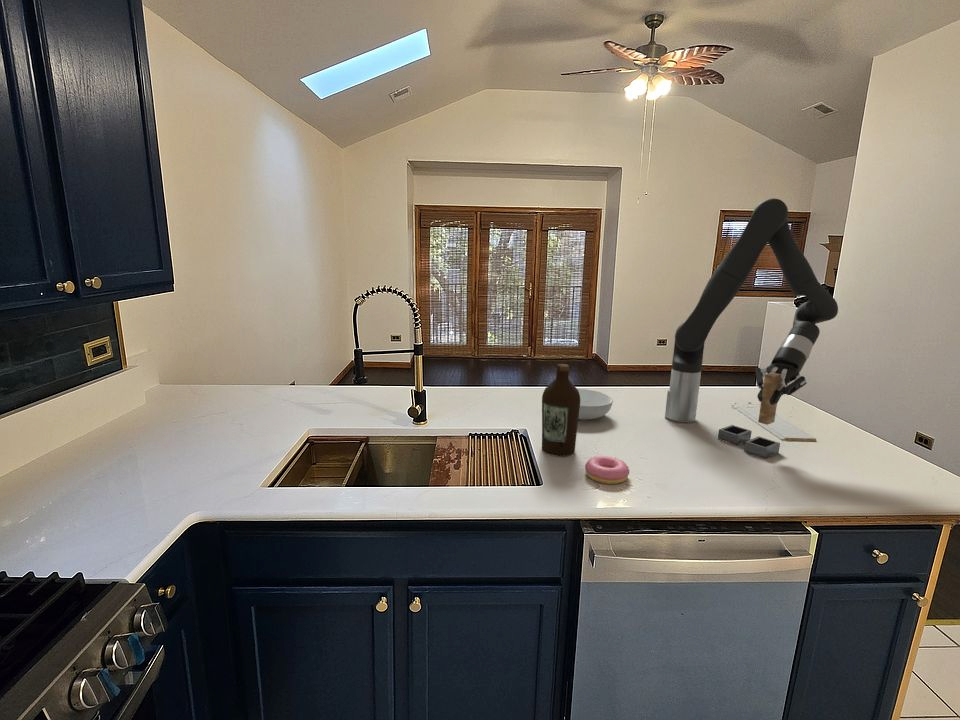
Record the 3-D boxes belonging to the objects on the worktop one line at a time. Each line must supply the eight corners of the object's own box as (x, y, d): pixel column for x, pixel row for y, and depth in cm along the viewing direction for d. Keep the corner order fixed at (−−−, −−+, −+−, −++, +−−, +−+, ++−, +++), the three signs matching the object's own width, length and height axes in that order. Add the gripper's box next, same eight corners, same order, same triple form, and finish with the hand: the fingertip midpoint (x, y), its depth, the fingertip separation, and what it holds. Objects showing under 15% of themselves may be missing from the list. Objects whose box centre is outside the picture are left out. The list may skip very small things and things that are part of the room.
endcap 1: (717, 438, 153) (718, 429, 152) (730, 433, 157) (732, 424, 157) (737, 445, 148) (738, 435, 147) (750, 439, 152) (751, 430, 152)
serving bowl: (608, 429, 159) (610, 409, 158) (544, 421, 166) (545, 401, 164) (613, 409, 179) (615, 391, 177) (555, 403, 185) (556, 385, 184)
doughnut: (579, 467, 132) (580, 453, 131) (619, 467, 133) (621, 452, 132) (591, 487, 121) (592, 471, 120) (635, 486, 122) (636, 470, 121)
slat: (758, 422, 141) (765, 374, 138) (765, 419, 144) (772, 372, 140) (767, 424, 139) (774, 376, 136) (774, 422, 142) (781, 374, 138)
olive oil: (547, 440, 150) (552, 359, 144) (582, 447, 144) (587, 363, 139) (533, 452, 141) (537, 366, 135) (569, 460, 135) (575, 371, 130)
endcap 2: (743, 451, 144) (745, 441, 143) (757, 445, 148) (758, 436, 147) (765, 458, 139) (767, 448, 138) (778, 452, 143) (780, 443, 143)
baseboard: (776, 441, 153) (815, 443, 153) (777, 432, 152) (817, 434, 152) (729, 409, 183) (762, 410, 183) (730, 401, 182) (763, 402, 182)
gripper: (764, 342, 146) (737, 388, 142) (817, 350, 135) (789, 400, 131) (770, 357, 151) (744, 403, 146) (822, 366, 139) (795, 416, 135)
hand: (765, 401), depth 139 cm, fingers closed on slat, 2 cm apart
